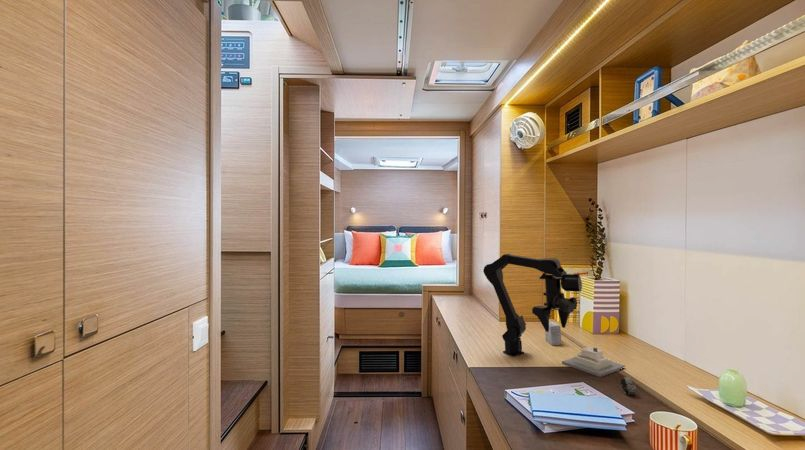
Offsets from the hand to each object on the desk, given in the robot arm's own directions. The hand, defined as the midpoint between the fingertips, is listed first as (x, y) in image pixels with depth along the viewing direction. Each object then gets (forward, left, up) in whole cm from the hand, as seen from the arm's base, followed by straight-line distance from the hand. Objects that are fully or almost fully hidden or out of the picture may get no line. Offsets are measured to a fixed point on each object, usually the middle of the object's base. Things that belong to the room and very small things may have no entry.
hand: (555, 329), depth 152 cm
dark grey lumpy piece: (-6, -33, -12) cm, 36 cm away
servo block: (+5, -12, -11) cm, 17 cm away
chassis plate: (+5, -12, -12) cm, 18 cm away
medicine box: (+16, +16, -12) cm, 26 cm away
